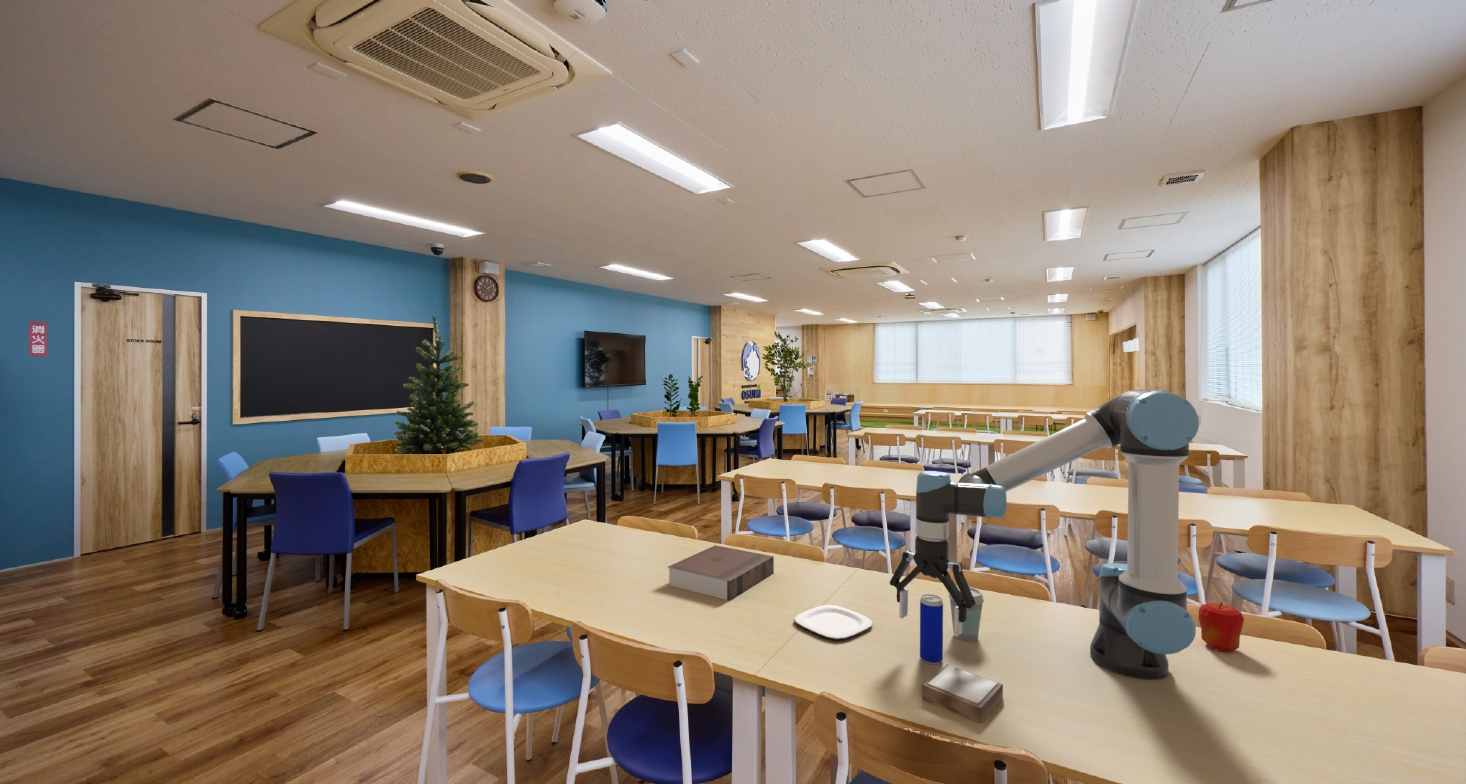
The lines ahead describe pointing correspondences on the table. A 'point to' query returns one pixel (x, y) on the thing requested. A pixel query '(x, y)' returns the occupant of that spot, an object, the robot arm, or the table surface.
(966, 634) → the coffee cup
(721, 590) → the book
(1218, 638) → the apple
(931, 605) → the beverage can
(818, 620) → the plate
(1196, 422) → the robot arm
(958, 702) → the stand
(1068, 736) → the table surface
